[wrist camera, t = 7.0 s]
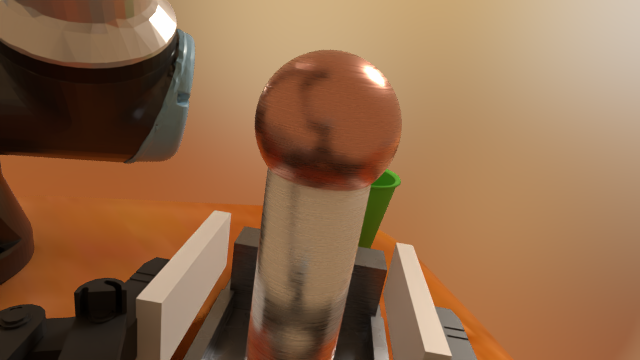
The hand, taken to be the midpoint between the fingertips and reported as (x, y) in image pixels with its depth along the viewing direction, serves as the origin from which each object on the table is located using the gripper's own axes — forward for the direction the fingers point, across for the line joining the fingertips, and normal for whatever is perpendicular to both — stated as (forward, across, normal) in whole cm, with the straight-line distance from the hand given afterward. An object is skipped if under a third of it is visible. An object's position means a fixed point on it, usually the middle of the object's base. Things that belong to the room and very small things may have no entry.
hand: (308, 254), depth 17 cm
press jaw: (-5, 0, -12) cm, 13 cm away
